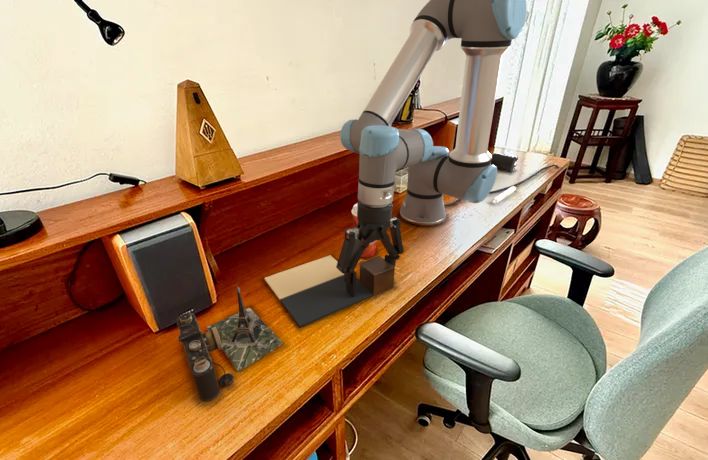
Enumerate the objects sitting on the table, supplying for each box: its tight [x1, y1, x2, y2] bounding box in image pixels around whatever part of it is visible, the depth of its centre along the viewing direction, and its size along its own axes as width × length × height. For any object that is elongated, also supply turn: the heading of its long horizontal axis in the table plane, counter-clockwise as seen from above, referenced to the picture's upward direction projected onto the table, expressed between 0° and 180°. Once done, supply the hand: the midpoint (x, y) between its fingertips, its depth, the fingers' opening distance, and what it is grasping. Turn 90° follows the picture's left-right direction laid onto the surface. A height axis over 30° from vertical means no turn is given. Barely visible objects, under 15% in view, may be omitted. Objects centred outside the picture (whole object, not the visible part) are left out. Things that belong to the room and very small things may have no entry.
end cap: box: [491, 152, 519, 173], centre depth 161 cm, size 10×7×7 cm
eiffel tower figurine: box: [206, 285, 285, 373], centre depth 70 cm, size 15×10×13 cm
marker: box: [491, 185, 517, 204], centre depth 135 cm, size 18×2×2 cm, turn 136°
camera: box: [176, 312, 235, 403], centre depth 66 cm, size 16×7×8 cm, turn 33°
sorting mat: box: [263, 254, 374, 329], centre depth 88 cm, size 19×20×1 cm
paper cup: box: [351, 202, 377, 258], centre depth 99 cm, size 8×8×14 cm
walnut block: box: [358, 255, 396, 297], centre depth 87 cm, size 6×6×6 cm
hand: (369, 286), depth 87 cm, fingers open, 10 cm apart
